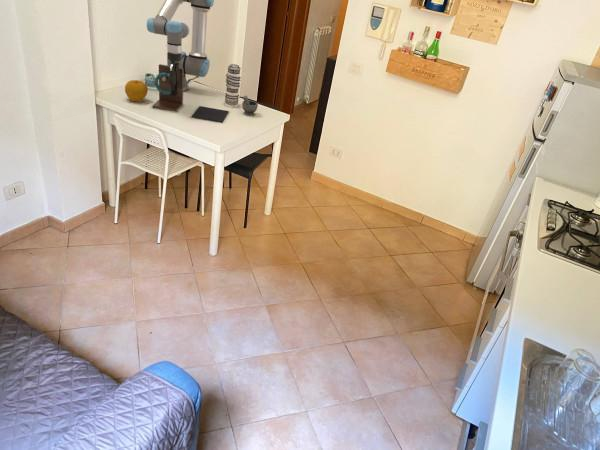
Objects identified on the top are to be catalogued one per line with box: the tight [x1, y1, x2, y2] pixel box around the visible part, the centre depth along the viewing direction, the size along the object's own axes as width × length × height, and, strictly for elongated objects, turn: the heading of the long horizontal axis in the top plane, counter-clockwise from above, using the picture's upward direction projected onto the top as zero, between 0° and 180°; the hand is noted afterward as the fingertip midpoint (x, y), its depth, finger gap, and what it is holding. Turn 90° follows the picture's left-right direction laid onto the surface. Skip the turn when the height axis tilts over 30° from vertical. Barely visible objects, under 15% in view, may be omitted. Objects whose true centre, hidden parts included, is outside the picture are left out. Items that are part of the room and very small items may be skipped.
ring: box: [154, 73, 171, 95], centre depth 246 cm, size 2×12×12 cm, turn 88°
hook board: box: [152, 63, 184, 113], centre depth 252 cm, size 15×14×22 cm
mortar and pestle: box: [241, 95, 259, 116], centre depth 267 cm, size 11×9×12 cm
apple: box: [124, 79, 149, 103], centre depth 255 cm, size 13×13×11 cm
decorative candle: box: [224, 63, 242, 108], centre depth 273 cm, size 9×9×25 cm
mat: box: [190, 105, 229, 123], centre depth 258 cm, size 20×18×1 cm
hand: (174, 94), depth 249 cm, fingers closed on ring, 2 cm apart
